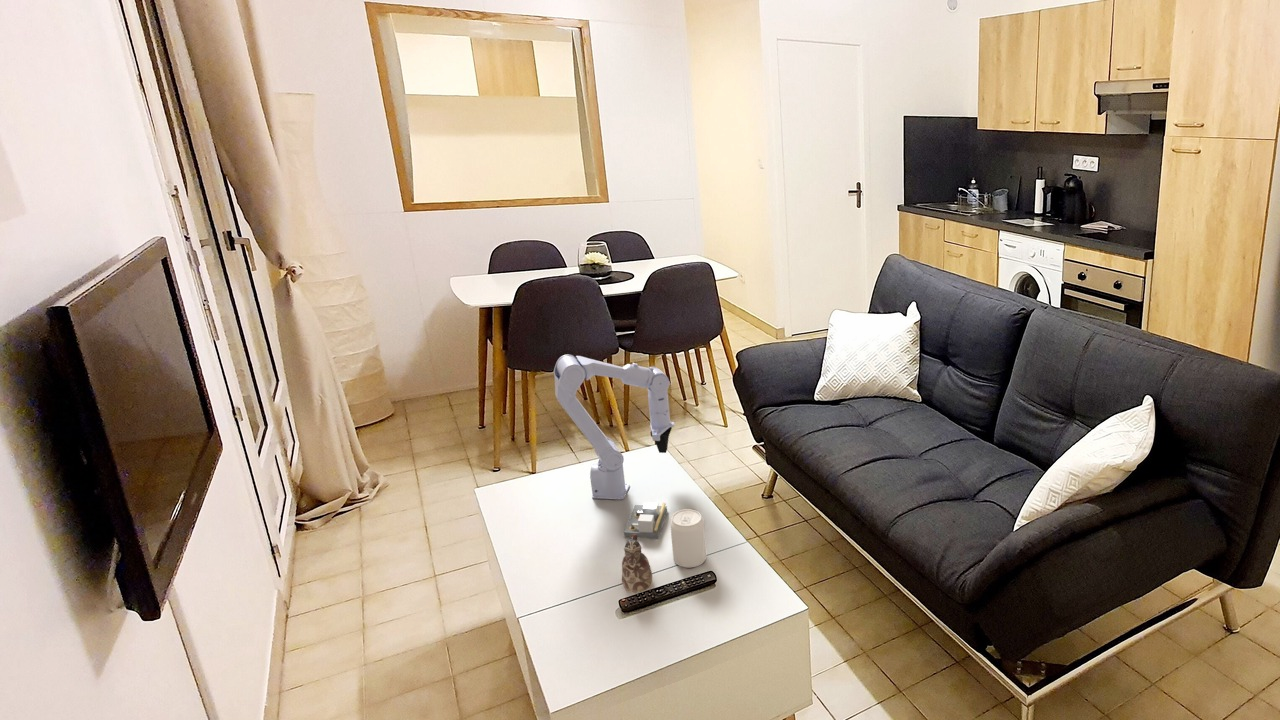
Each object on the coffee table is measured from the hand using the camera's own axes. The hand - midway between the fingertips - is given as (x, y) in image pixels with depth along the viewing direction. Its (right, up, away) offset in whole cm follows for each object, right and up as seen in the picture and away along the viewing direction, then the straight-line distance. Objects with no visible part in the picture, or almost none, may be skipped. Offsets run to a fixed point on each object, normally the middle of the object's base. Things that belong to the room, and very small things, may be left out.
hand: (663, 451), depth 204 cm
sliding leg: (-5, -15, -17) cm, 23 cm away
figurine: (-7, -26, -40) cm, 48 cm away
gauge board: (-5, -17, -17) cm, 25 cm away
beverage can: (+6, -22, -33) cm, 40 cm away
